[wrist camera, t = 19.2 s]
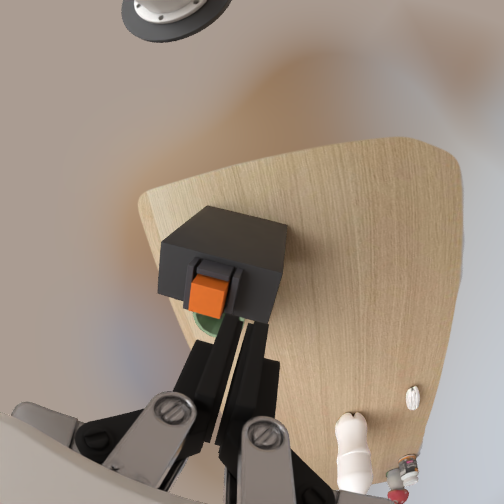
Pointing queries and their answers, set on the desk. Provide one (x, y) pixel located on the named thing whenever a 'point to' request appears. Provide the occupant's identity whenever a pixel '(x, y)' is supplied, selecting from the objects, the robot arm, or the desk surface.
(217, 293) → the button
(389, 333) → the desk surface
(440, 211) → the desk surface
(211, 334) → the cup
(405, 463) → the pill bottle
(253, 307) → the coffee maker
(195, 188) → the desk surface
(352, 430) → the water bottle
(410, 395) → the white oval pebble
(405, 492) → the decorative ornament
